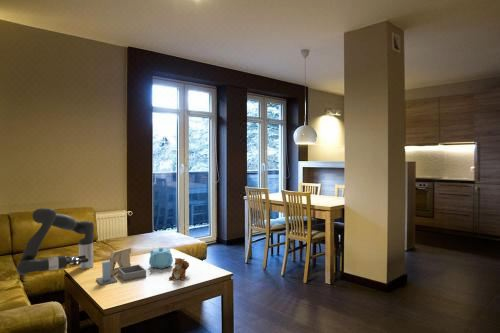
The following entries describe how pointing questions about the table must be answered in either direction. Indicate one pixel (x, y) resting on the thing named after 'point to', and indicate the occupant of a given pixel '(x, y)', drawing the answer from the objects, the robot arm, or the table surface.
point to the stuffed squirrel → (179, 269)
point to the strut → (106, 270)
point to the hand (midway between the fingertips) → (86, 258)
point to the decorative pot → (160, 258)
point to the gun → (119, 259)
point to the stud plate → (102, 282)
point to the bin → (131, 272)
